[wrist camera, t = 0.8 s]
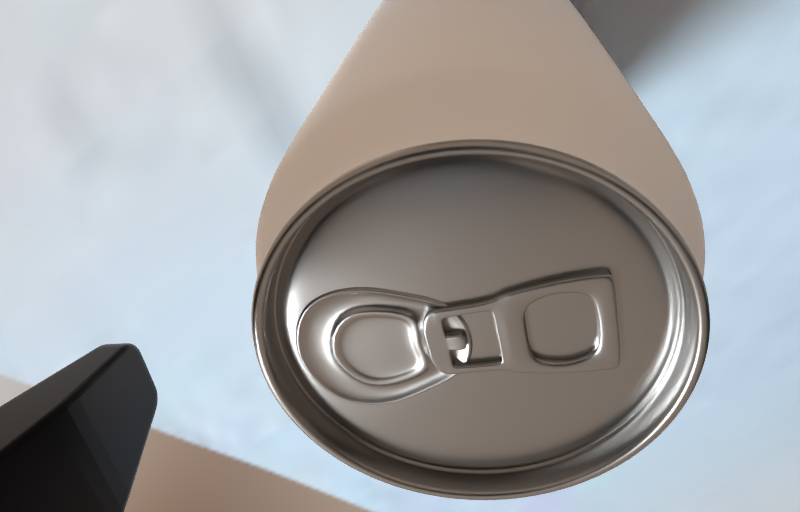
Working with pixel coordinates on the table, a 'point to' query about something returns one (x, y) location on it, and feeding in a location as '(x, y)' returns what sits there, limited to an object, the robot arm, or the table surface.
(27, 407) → the robot arm
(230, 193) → the table surface
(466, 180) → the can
